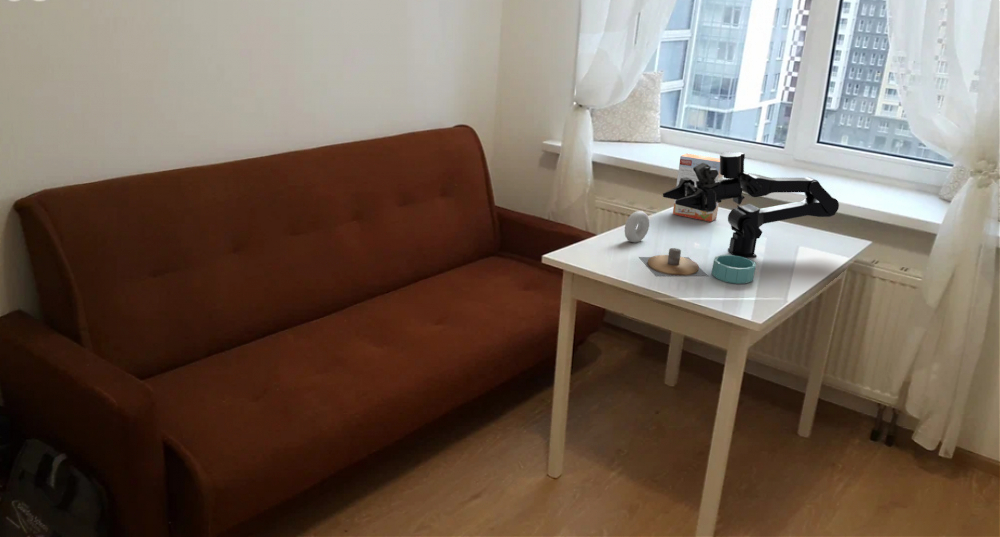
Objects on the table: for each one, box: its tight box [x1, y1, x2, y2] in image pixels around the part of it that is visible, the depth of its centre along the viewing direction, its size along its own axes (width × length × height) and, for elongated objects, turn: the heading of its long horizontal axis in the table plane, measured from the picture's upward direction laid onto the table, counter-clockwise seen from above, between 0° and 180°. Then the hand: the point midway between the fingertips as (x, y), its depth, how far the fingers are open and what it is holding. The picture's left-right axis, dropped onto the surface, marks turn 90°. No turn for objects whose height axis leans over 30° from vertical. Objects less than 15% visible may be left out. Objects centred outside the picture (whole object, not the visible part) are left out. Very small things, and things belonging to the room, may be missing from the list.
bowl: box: [711, 254, 757, 285], centre depth 206 cm, size 11×11×5 cm
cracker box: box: [672, 153, 724, 223], centre depth 258 cm, size 14×6×21 cm, turn 58°
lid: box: [648, 247, 700, 275], centre depth 211 cm, size 14×14×5 cm
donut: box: [624, 210, 650, 243], centre depth 230 cm, size 10×4×10 cm, turn 133°
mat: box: [638, 256, 709, 277], centre depth 212 cm, size 15×15×1 cm
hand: (669, 198), depth 216 cm, fingers open, 9 cm apart
